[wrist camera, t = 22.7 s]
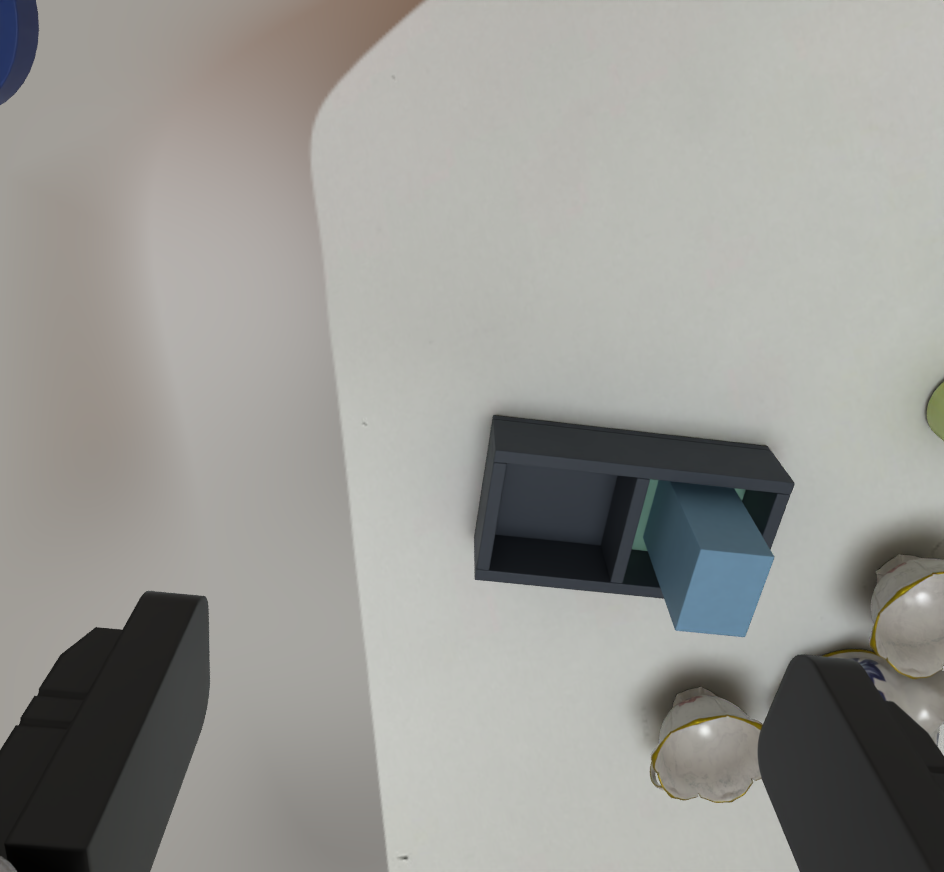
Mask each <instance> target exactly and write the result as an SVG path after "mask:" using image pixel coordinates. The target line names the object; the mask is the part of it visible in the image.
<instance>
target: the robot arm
mask: <svg viewBox="0 0 944 872" xmlns="http://www.w3.org/2000/svg"><path fill="white" fill-rule="evenodd" d="M208 614H209V613H208V601H207V598H206V597H205V596H198V595H187V594H176V593H166V592H155V591H146V592H145V593H144V594H143V595H142V596H141V598H140V599H139V601H138V603H137V605H136V607H135V609H134V610H133V612H132V614H131V616H130V617H129V619H128V621H127V623H126V625H125V626H124V628H123V630H120V629H109V628H97V627H96V628H94V629H93V630H92V631H91V632H89V633H88V634H87V635H86V636H84V637H83V638H82V639H80V640H79V641H78V642H77V643H75V644H74V645H73V646H71V647H70V648H69V649H67V650H66V651H65V652H64V653H62V654H61V655H60V657H59V658H58V660H57V661H56V663H55V664H54V666H53V668H52V669H51V671H50V672H49V674H48V675H47V677H46V679H45V680H44V682H43V683H42V685H41V687H40V688H39V693H38V695H37V696H34V698H33V699H32V701H31V702H30V704H29V706H28V707H27V709H26V710H25V712H24V713H23V715H22V717H21V721H20V724H19V726H17V725H16V726H15V728H14V729H13V731H12V732H11V734H10V736H9V737H8V739H7V740H6V742H5V743H4V745H3V747H2V748H1V750H0V872H150V870H151V868H152V865H153V862H154V859H155V857H156V854H157V851H158V848H159V846H160V843H161V840H162V837H163V835H164V832H165V829H166V826H167V824H168V821H169V818H170V815H171V812H172V810H173V807H174V804H175V801H176V798H177V796H178V793H179V790H180V788H181V785H182V782H183V779H184V777H185V773H186V771H187V769H188V766H189V763H190V760H191V758H192V755H193V752H194V749H195V746H196V744H197V741H198V738H199V735H200V733H201V730H202V726H203V723H204V719H205V715H206V710H207V704H208V698H209V688H210V662H209V616H208ZM757 751H758V765H759V770H760V774H761V777H762V780H763V783H764V785H765V788H766V790H767V793H768V795H769V798H770V800H771V802H772V805H773V807H774V810H775V812H776V815H777V817H778V819H779V822H780V824H781V827H782V829H783V832H784V834H785V836H786V839H787V841H788V844H789V846H790V849H791V851H792V854H793V856H794V858H795V861H796V863H797V866H798V868H799V871H800V872H944V756H943V754H942V753H941V751H940V750H939V748H938V747H937V745H936V744H935V742H934V741H933V739H932V738H931V736H930V735H929V733H928V732H927V731H926V730H924V729H923V728H922V727H921V726H920V725H919V724H918V723H917V722H916V721H914V720H913V719H912V718H911V717H910V716H909V715H908V714H907V713H906V712H905V711H903V710H902V709H901V708H900V707H899V706H898V705H897V704H896V703H895V702H893V701H884V699H883V697H882V696H881V694H880V693H879V691H878V690H877V688H876V687H875V685H874V683H873V682H872V680H871V679H870V677H869V676H868V674H867V673H866V671H865V670H864V668H863V667H862V666H861V665H860V664H859V663H858V662H857V661H855V660H852V659H845V658H834V657H824V656H813V655H802V654H801V655H797V656H795V657H794V658H793V659H792V660H791V661H790V663H789V665H788V667H787V669H786V672H785V674H784V676H783V679H782V681H781V683H780V686H779V688H778V691H777V693H776V695H775V698H774V700H773V702H772V705H771V707H770V709H769V712H768V714H767V717H766V719H765V721H764V724H763V726H762V728H761V731H760V734H759V739H758V750H757Z"/></svg>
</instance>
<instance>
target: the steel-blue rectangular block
mask: <svg viewBox="0 0 944 872" xmlns="http://www.w3.org/2000/svg"><path fill="white" fill-rule="evenodd" d="M643 539H644V542H645V545H646V548H647V551H648V553H649V556H650V559H651V562H652V565H653V568H654V571H655V573H656V576H657V579H658V582H659V585H660V588H661V591H662V594H663V596H664V599H665V602H666V605H667V608H668V611H669V614H670V617H671V619H672V622H673V625H674V628H675V630H676V631H686V632H697V633H707V634H717V635H728V636H738V637H745V636H746V633H747V630H748V628H749V625H750V622H751V620H752V617H753V614H754V611H755V609H756V606H757V603H758V601H759V598H760V595H761V592H762V590H763V587H764V584H765V582H766V579H767V576H768V573H769V571H770V568H771V565H772V563H773V560H774V555H773V554H772V552H771V550H770V549H769V547H768V545H767V543H766V542H765V540H764V538H763V537H762V535H761V533H760V531H759V530H758V528H757V526H756V525H755V523H754V521H753V520H752V518H751V516H750V514H749V513H748V511H747V509H746V508H745V506H744V504H743V503H742V501H741V499H740V497H739V496H738V494H737V492H736V491H735V489H734V488H727V487H718V486H709V485H699V484H690V483H681V482H672V481H663V480H659V481H658V484H657V488H656V492H655V495H654V499H653V503H652V506H651V510H650V514H649V517H648V521H647V525H646V528H645V532H644V536H643Z"/></svg>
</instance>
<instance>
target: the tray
mask: <svg viewBox="0 0 944 872" xmlns="http://www.w3.org/2000/svg"><path fill="white" fill-rule="evenodd" d="M659 480H663V481H672V482H681V483H690V484H699V485H709V486H718V487H727V488H734V489H735V491H736V492H737V494H738V496H739V497H740V499H741V501H742V503H743V504H744V506H745V508H746V509H747V511H748V513H749V514H750V516H751V518H752V520H753V521H754V523H755V525H756V526H757V528H758V530H759V531H760V533H761V535H762V537H763V538H764V540H765V542H766V543H767V545H768V547H769V549H771V547H772V544H773V541H774V538H775V536H776V533H777V530H778V527H779V525H780V522H781V519H782V516H783V514H784V511H785V508H786V505H787V503H788V500H789V497H790V494H791V492H792V489H793V487H794V482H793V480H792V479H791V478H790V476H789V475H788V473H787V472H786V471H785V469H784V468H783V467H782V465H781V464H780V462H779V461H778V460H777V458H776V457H775V456H774V454H773V453H772V451H771V450H770V449H769V447H768V446H761V445H752V444H744V443H735V442H726V441H717V440H708V439H699V438H691V437H682V436H673V435H664V434H655V433H646V432H637V431H629V430H620V429H611V428H602V427H593V426H584V425H576V424H567V423H558V422H549V421H540V420H531V419H523V418H514V417H505V416H496V415H493V419H492V425H491V432H490V438H489V445H488V451H487V458H486V464H485V471H484V477H483V483H482V490H481V496H480V503H479V509H478V516H477V522H476V529H475V535H474V561H475V580H484V581H494V582H504V583H514V584H524V585H534V586H544V587H554V588H564V589H574V590H584V591H594V592H604V593H614V594H624V595H634V596H644V597H654V598H664V596H663V594H662V591H661V588H660V585H659V582H658V579H657V576H656V573H655V571H654V568H653V565H652V562H651V559H650V556H649V553H648V551H647V548H646V545H645V542H644V539H643V536H644V532H645V528H646V525H647V521H648V517H649V514H650V510H651V506H652V503H653V499H654V495H655V492H656V488H657V484H658V481H659Z"/></svg>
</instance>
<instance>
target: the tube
mask: <svg viewBox="0 0 944 872" xmlns="http://www.w3.org/2000/svg"><path fill="white" fill-rule="evenodd" d="M927 420H928V424H929V426H930V428H931V430H932V431H933V432H934V433H935V434H936V435H937V436H938V437H940V438H941V439H942V440H943V441H944V382H943V383H942V384H941V385H940V386H939V387H938V388H937V389H936V390H935V392H934V393H933V395H932V397H931V399H930V401H929V403H928V407H927Z"/></svg>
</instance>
